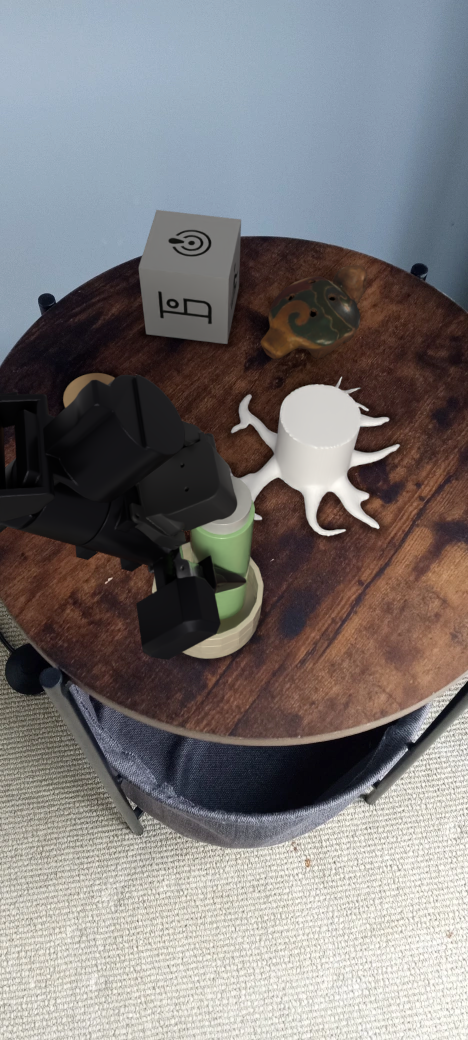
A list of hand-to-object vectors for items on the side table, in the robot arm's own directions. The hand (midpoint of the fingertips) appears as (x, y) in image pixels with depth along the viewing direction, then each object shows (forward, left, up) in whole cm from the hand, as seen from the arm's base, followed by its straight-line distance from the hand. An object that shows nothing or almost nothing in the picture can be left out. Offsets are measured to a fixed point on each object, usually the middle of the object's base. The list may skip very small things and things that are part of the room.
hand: (236, 555), depth 61 cm
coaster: (-10, +28, -10) cm, 32 cm away
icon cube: (+4, +40, -10) cm, 42 cm away
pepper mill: (-1, 0, -8) cm, 8 cm away
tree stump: (+12, +15, -10) cm, 22 cm away
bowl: (-3, 0, -10) cm, 11 cm away
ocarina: (+17, +32, -10) cm, 38 cm away
